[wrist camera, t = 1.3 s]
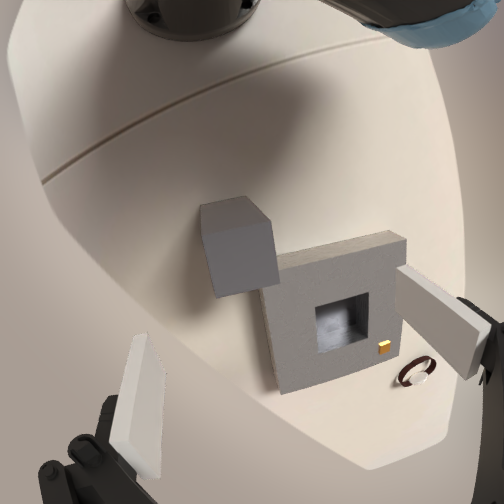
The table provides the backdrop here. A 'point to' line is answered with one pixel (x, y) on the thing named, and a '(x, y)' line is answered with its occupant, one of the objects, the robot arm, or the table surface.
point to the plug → (238, 246)
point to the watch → (417, 377)
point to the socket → (333, 310)
